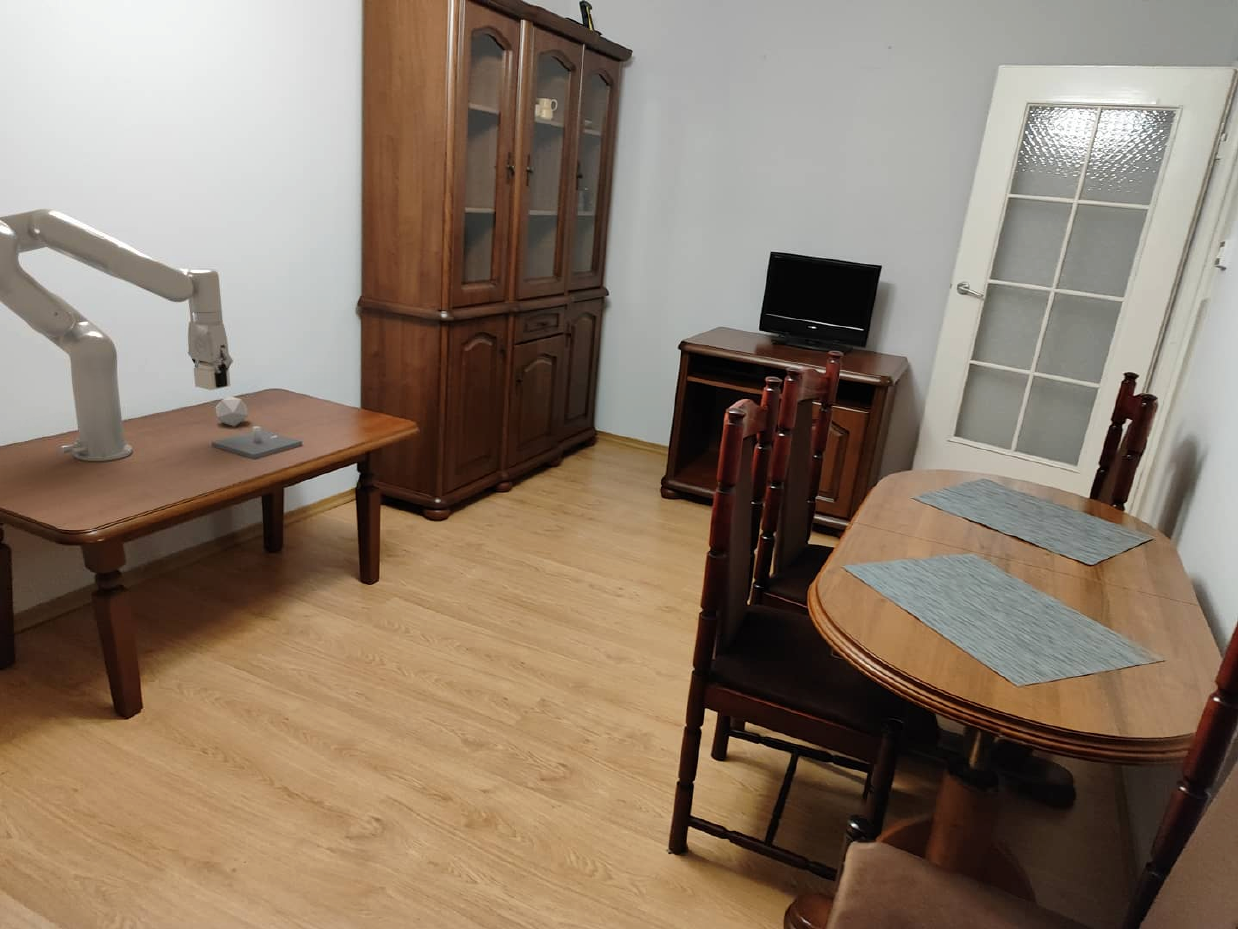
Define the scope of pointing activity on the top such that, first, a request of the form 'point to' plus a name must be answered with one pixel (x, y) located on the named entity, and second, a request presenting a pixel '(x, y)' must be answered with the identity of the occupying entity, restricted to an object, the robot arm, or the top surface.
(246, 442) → the grey square peg base
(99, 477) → the top surface
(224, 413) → the die
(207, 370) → the white stepped block
